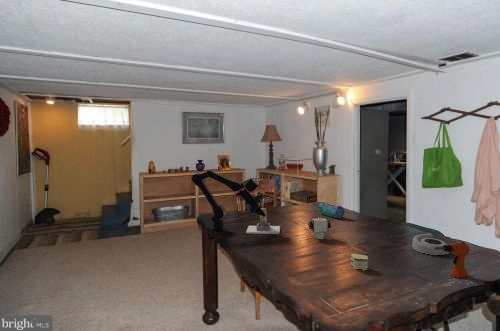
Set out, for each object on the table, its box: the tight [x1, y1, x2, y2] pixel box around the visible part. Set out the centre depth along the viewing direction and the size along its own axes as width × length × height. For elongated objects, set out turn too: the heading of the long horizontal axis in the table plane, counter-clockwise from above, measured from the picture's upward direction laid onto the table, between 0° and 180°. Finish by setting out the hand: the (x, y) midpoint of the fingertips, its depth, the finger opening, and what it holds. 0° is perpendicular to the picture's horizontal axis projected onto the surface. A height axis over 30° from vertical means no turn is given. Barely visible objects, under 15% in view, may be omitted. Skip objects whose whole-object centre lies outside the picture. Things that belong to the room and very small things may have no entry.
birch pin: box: [259, 207, 268, 226], centre depth 196 cm, size 4×4×11 cm
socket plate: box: [245, 222, 281, 235], centre depth 196 cm, size 20×14×4 cm
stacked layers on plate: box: [350, 253, 369, 271], centre depth 136 cm, size 10×9×6 cm
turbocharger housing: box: [411, 232, 450, 256], centre depth 157 cm, size 17×7×15 cm
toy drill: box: [434, 241, 471, 278], centre depth 126 cm, size 5×18×14 cm, turn 109°
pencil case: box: [316, 201, 346, 219], centre depth 231 cm, size 21×9×10 cm, turn 27°
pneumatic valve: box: [307, 217, 332, 240], centre depth 179 cm, size 6×12×12 cm, turn 94°
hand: (265, 215), depth 195 cm, fingers closed on birch pin, 4 cm apart
